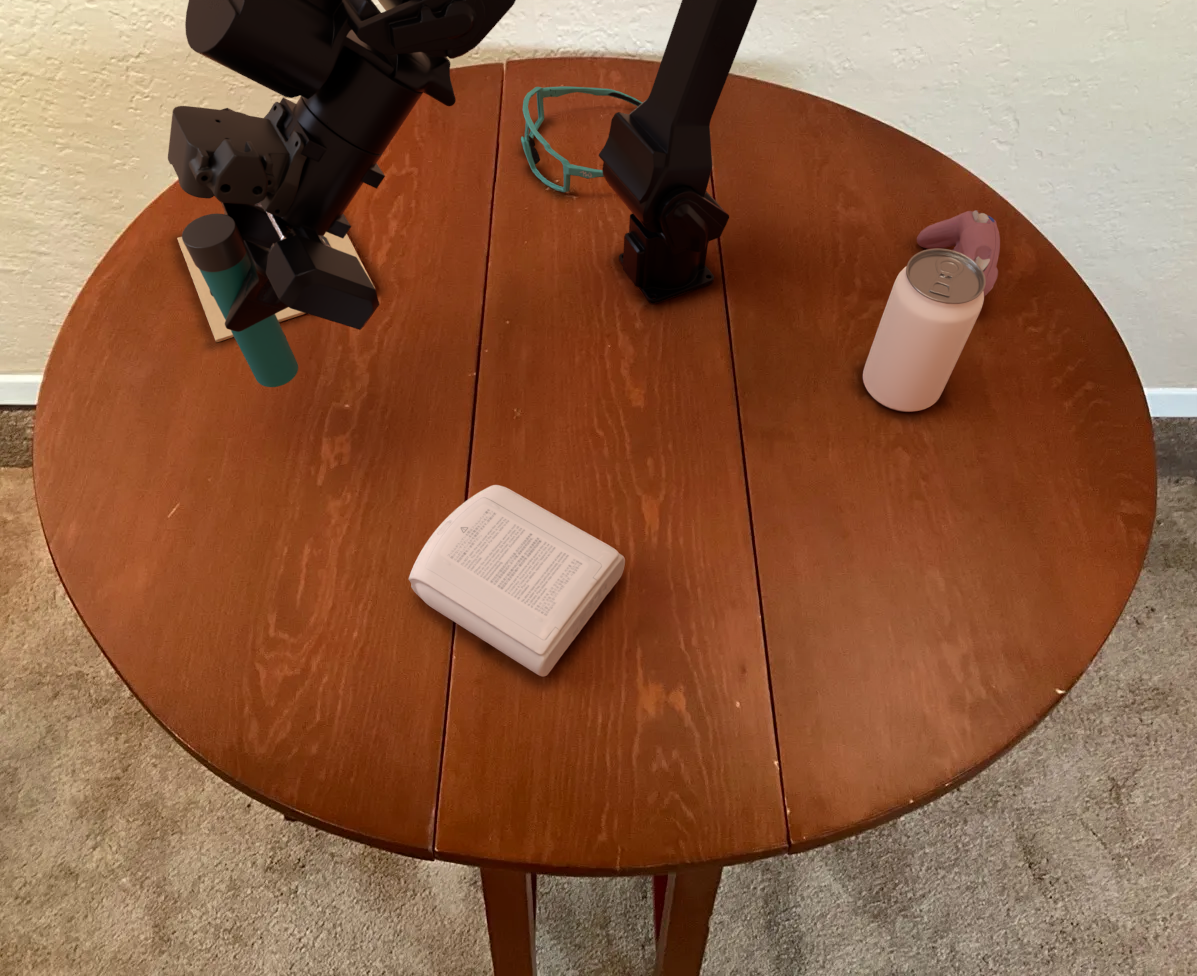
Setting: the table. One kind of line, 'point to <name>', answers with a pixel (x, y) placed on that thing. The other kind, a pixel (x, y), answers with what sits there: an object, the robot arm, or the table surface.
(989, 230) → the video game controller
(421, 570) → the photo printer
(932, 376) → the can
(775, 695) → the table surface
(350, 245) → the sketch sheet
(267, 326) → the water bottle
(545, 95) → the sunglasses
